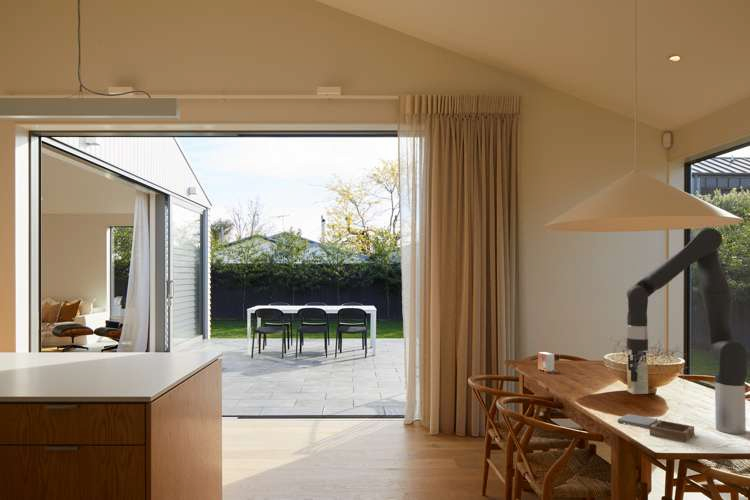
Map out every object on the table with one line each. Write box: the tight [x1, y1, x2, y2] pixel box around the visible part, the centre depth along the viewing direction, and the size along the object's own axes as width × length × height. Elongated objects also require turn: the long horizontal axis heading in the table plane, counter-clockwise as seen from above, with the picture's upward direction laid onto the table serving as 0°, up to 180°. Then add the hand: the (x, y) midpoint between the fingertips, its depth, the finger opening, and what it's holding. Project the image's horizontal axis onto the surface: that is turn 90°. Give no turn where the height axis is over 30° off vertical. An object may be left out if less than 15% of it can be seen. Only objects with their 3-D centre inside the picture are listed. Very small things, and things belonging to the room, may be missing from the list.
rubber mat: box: [617, 413, 659, 429], centre depth 206 cm, size 11×11×1 cm
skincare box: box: [626, 360, 649, 395], centre depth 207 cm, size 6×4×12 cm
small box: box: [537, 351, 555, 371], centre depth 308 cm, size 8×6×10 cm
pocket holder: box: [649, 419, 695, 443], centre depth 191 cm, size 11×11×3 cm
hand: (637, 380), depth 207 cm, fingers closed on skincare box, 7 cm apart
